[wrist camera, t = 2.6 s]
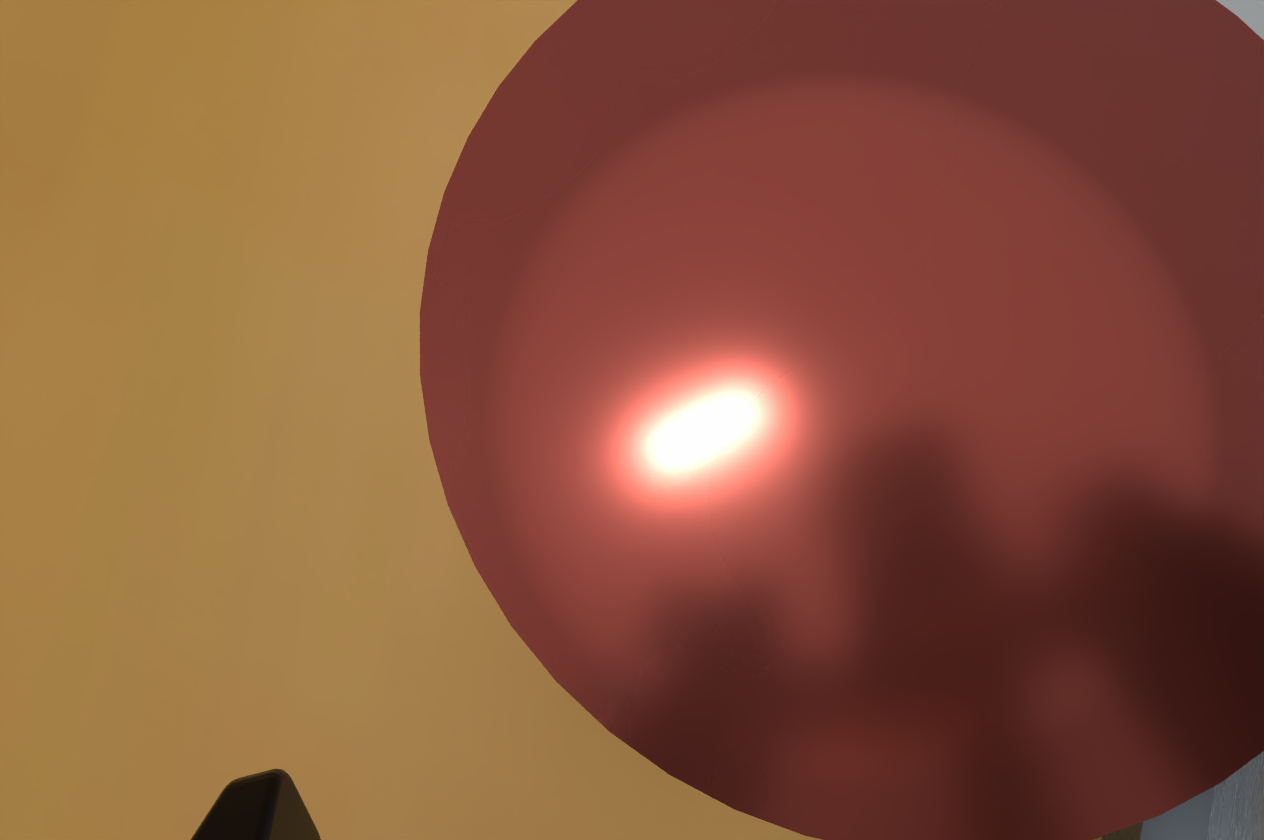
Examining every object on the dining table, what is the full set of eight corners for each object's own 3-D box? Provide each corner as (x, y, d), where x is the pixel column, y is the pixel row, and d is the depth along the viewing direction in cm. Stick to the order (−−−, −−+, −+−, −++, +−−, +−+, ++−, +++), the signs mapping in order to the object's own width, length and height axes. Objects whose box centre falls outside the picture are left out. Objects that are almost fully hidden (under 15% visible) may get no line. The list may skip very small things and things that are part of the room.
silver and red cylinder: (820, 770, 17) (1363, 1001, 5) (518, 681, 18) (275, 678, 5) (889, 472, 19) (1473, 20, 6) (605, 393, 19) (583, -203, 6)
